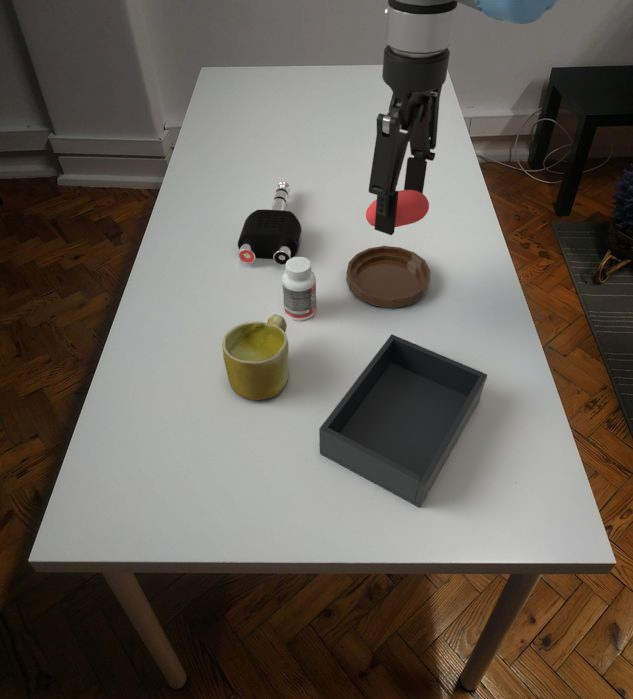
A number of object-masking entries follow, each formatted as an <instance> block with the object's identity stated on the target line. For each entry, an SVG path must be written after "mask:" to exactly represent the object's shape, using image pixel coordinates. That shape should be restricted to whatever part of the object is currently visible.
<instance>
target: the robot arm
mask: <svg viewBox="0 0 633 699" xmlns="http://www.w3.org/2000/svg"><path fill="white" fill-rule="evenodd" d="M558 1H559V0H387V7H386V8H385V9H384V16H385V17H386V25H385V38H384V40H385V43H386V44H387V45H386V46H385V47H384V49H383V59H382V61H383V62H382V75H381V77H382V80H383V82H384V84H386V85H387V86H388V87H389V88H390V89H391V91H392V94H391V100H390V102H389V105H388V111H387V113H386V114H384V113H379V114H378V115H377V117H376V137H375V144H374V149H373V150H374V151H373V157H372V164H371V170H370V177H369V185H368V193H369V194H373V195H376V199H377V203H376V216H375V227H374V230H375V231H377V232H380V233H383V234H386V235H389V236H393V235H394V233H395V228H396V227H395V220H396V211H397V201H398V192H399V191H400V190H397V186H398V182H399V178H400V175H401V171H402V167H403V163H404V160H405V156H406V152H407V149H408V145H409V148H410V155H411V156H413V157H411V156H409V157H408V158H407V160H406V168H405V176H404V186H403V190H415V191H418V192H420V193H422V194H424V188H425V182H426V174H427V166H428V161H431V162H433V161H434V160H435V158H436V152H432V151H433V150H435V149H436V146H437V138H438V137H437V136H438V126H439V125H438V124H439V111H440V99H441V93H442V89H443V85H444V84H445V82H446V80H447V75H448V67H449V61H450V54H451V52H450V50H449V47H451V45H452V44H453V37H454V31H455V30H454V29H455V23H456V17H457V9H458V3H459V4H462V5H464V6H467V7H469V8H471V9H473V10H476V11H478V12H481V13H482V14H484V15H486V16H487V17H488V18H493V20H496V21H502V22H503V21H506V22H508V23H512V24H517V25H527V24H532V23H534V22H536V21H538V20H539V19H541V18H542V17H543V15H544V14H545V13H546V12H548V10H552V8H554V7H555V5H556V4H557V3H558ZM400 130H402V131H400ZM403 131H405V132H403Z"/></svg>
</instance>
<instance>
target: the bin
mask: <svg viewBox="0 0 633 699" xmlns="http://www.w3.org/2000/svg"><path fill="white" fill-rule="evenodd" d="M487 379H488V374H487V373H485V372H483V371H481V370H478V369H475V368H473V367H471V366H468V365H466V364H464V363H461V362H459V361H456V360H454V359H451V358H449V357H447V356H445V355H442V354H440V353H437V352H435V351H433V350H430V349H428V348H426V347H423V346H421V345H420V344H416V343H413V342H412V341H409V340H407V339H404V338H402V337H400V336H397V335H395V334H393V333H391V334H390V335H389V337H388V338H387V339H386V340H385V343H383V345H382V346H381V347H380V349H379V350H378V351H377V353H375V355H374V357H373V358H372V359H371V360H370V362H369V363H368V364H367V365H366V367H365V368H364V369H363V371H362V372H361V373H360V374H359V376H358V377H357V378H356V380H355V381H354V383H353V384H352V385H351V387H350V388H349V389H348V391H347V392H346V393H345V394H344V396H343V397H342V399H341V400H340V401H339V402H338V403H337V405H336V406H335V408H334V409H333V410H332V412H331V413H330V414H329V415H328V417H327V418H326V420H325V421H324V422H323V423H322V425H320V427H319V429H318V430H319V432H318V434H319V435H318V437H319V454H320V455H321V456H323V457H325V458H327V459H328V460H330V461H332V462H334V463H336V464H338V465H340V466H342V467H344V468H345V469H347V470H349V471H351V472H353V473H354V474H356V475H358V476H360V477H362V478H364V479H365V480H367V481H369V482H371V483H373V484H374V485H376V486H379V487H380V488H381V489H384V490H386V491H387V492H389V493H392V494H393V495H395V496H397V497H398V498H400V499H402V500H404V501H406V502H408V503H410V504H411V505H414V506H415V507H418V509H419V508H421V507H422V505H423V504H424V501H425V500H426V499H427V496H428V494H429V492H430V491H431V489H432V487H433V486H434V484H435V482H436V479H437V478H438V476H439V475H440V473H441V471H442V469H443V467H444V465H445V463H446V462H447V460H448V458H449V456H450V454H451V452H452V451H453V449H454V448H455V445H456V444H457V442H458V440H459V439H460V436H461V435H462V433H463V431H464V429H465V427H466V426H467V424H468V422H469V420H470V418H471V417H472V415H473V413H474V411H475V409H476V408H477V406H478V404H479V402H480V401H481V396H482V394H483V390H484V387H485V384H486V382H487Z"/></svg>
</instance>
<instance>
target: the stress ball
mask: <svg viewBox="0 0 633 699" xmlns="http://www.w3.org/2000/svg"><path fill="white" fill-rule="evenodd" d="M398 191H399V192H398V201H397V211H396V220H395V228H398V227H402V226H408V225H412V224H415V223H417V222H420V221H421V220H422V219H424V217H426V215H427V214H428V212H429V209H430V202H429V200H428V198H427V196H426V195H425V194H424V193H423V194H422V193H420V192H418V191H415V190H404V189H402V190H398ZM376 203H377V198H375V200H373V202H371V203H370V204H369V206H368V207H367V209H366V210H365V219H366V221H367V223H368V224H369V225H370V226H371V227H374V228H375V216H376Z"/></svg>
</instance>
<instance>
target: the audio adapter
mask: <svg viewBox="0 0 633 699" xmlns="http://www.w3.org/2000/svg"><path fill="white" fill-rule="evenodd" d="M290 191H291V186H290V184H289V183H288V182H286V181H280V182H279V183H277V187H276V189H275V192H274V196H273V199H272V203H271V205H270V209H256V210H254V211H253V212H251V213H250V214H249V215H248V216H247V217H246V219H245V220H244V223H243V226H242V229H241V231H240V235H239V238H238V241H237V248H238V250H239V251H238V258H239V260H240V261H241V262H242V263H245V264H252V263H253V262H254V261H255V260H256V259H263V260H264V259H266V260H273V261H274V262H275V263H276V264H278V265H280V266H285V265H286V262H287V261H288V260H289V259H291V258H293V257H296V255H297V253H298V249H299V245H300V240H301V236H302V230H303V229H302V225H301V222H300V221H299V219H298V217H297V216H296V215H295V214H294V213H293V211H291V210H286V207H287V204H288V200H289V195H290Z"/></svg>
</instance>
